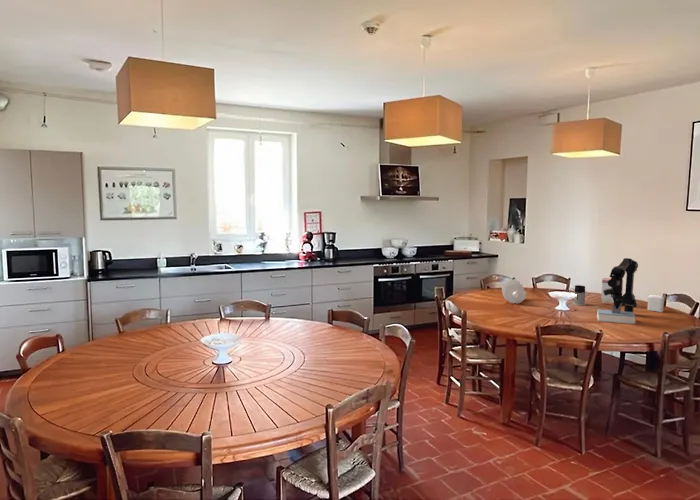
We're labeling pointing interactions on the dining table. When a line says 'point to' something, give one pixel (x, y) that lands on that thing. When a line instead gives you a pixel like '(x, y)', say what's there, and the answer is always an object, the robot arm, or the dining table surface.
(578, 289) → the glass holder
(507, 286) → the white rounded lump
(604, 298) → the cracker box
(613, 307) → the block
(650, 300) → the photo printer
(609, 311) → the box lid
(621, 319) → the storage box
